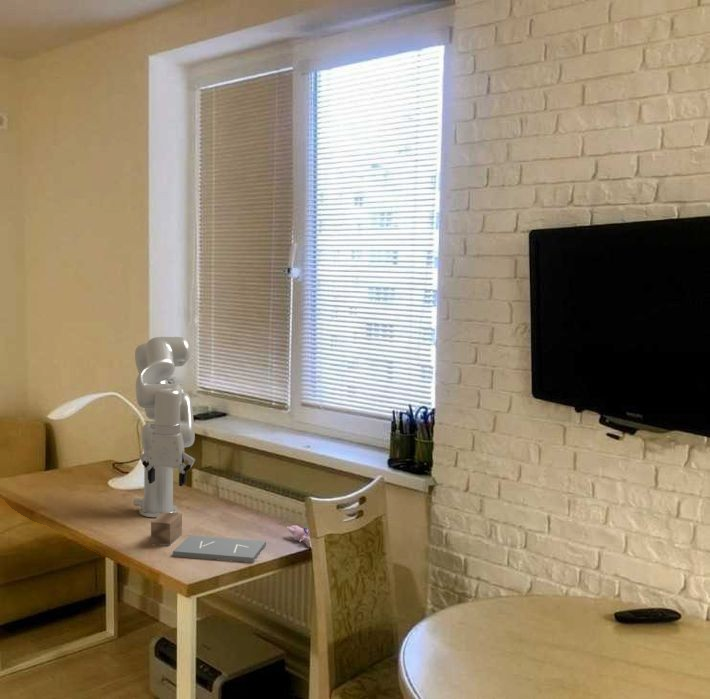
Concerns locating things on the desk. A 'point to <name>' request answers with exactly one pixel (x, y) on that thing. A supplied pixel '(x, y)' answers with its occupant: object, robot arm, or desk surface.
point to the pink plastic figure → (300, 534)
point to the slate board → (219, 548)
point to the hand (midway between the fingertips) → (166, 483)
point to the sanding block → (166, 528)
